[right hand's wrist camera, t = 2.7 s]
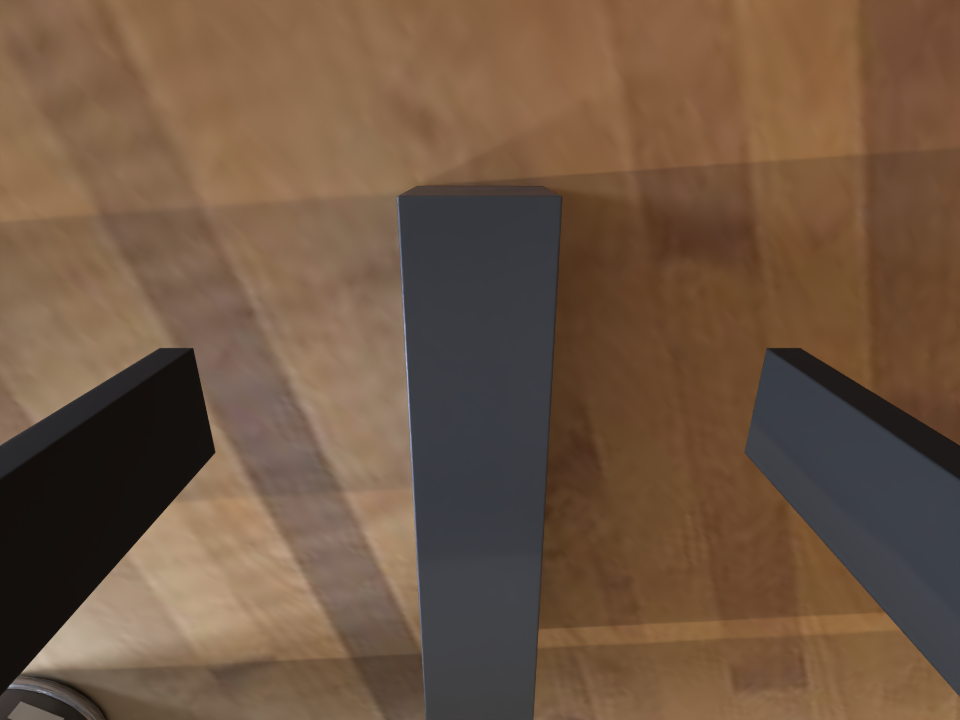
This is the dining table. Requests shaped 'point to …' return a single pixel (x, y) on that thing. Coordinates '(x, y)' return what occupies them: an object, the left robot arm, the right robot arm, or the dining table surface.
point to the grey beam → (479, 434)
